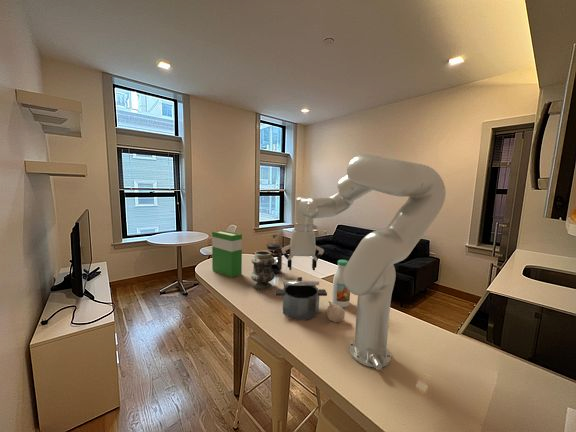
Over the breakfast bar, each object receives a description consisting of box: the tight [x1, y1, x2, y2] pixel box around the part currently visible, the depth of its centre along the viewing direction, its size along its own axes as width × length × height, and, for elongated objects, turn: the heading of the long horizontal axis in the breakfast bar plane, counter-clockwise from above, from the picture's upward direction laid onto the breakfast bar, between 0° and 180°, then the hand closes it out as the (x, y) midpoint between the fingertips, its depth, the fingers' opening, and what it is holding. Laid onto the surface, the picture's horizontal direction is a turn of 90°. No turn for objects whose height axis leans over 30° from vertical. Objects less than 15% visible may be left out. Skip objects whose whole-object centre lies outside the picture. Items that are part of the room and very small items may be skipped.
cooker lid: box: [282, 276, 320, 286], centre depth 102 cm, size 16×15×3 cm
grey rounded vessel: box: [250, 250, 275, 291], centre depth 125 cm, size 12×12×18 cm
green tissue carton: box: [211, 229, 243, 278], centre depth 143 cm, size 18×7×24 cm, turn 53°
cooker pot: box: [275, 284, 328, 321], centre depth 102 cm, size 16×21×9 cm
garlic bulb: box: [326, 301, 346, 323], centre depth 95 cm, size 7×6×8 cm
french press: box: [266, 234, 283, 276], centre depth 146 cm, size 12×9×23 cm
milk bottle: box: [331, 259, 351, 308], centre depth 108 cm, size 8×8×20 cm
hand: (301, 269), depth 99 cm, fingers open, 9 cm apart
